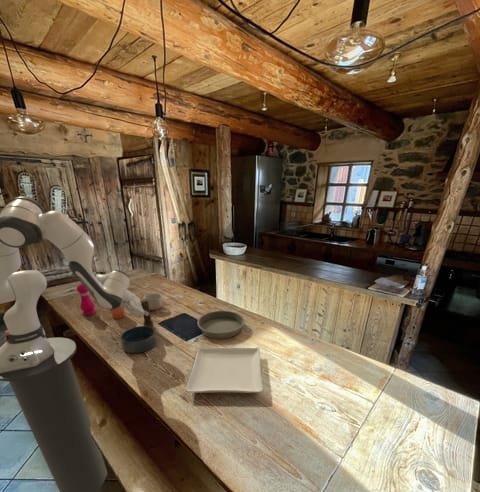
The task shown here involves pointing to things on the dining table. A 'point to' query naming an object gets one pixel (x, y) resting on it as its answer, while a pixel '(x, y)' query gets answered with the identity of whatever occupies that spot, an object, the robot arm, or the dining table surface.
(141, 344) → the bowl
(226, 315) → the cake pan
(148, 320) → the dark brown spice grinder
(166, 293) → the dining table surface
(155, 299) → the teacup
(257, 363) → the square plate
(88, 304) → the pepper mill
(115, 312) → the cup with straw
